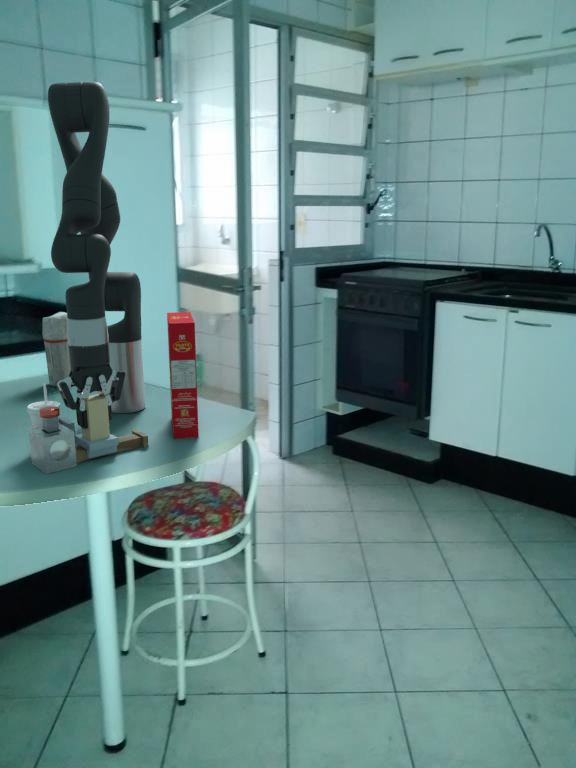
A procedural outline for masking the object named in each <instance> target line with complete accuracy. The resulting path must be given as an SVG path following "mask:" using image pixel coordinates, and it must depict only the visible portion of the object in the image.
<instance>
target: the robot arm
mask: <svg viewBox="0 0 576 768" xmlns="http://www.w3.org/2000/svg"><path fill="white" fill-rule="evenodd" d="M47 104H48V108H49V113H50V118H51V121H52V125H53V128H54V132H55V135H56V138H57V143H58V144H59V148H60V151H61V154H62V158H63V162H64V164H65V168H66V169H65V171H66V174H65V176H64V178H63V182H62V194H61V195H62V196H61V197H62V198H61V200H62V201H61V204H62V205H61V215H60V220H59V224H58V227H57V230H56V231H55V235H54V238H53V241H52V244H51V250H50V258H51V262H52V264H53V266H54V268H55V269H56V270H57V271H58V272H60V273H64V274H85V273H87V275H88V279H89V281H88V282H85V283H83V284H82V283H81V284H77V285H73V286H70V287H68V288H67V289H66V291H65V294H64V295H65V296H64V297H65V305H66V313H67V336H68V348H69V359H70V367H71V371H70V373H69V377H67V378H65V379H63V380H57V381H56V387H57V390H58V392H59V394H60V397H61V399H62V400H63V403H64V405H65V407H66V408H68V409H70V410H71V411H75V414H76V423H77V425H78V426H80V427H81V429H82V428H83V429H86V428H88V420H87V411H86V410H85V408H86V401H87V400H88V398H89V396H90V394H91V393H93V392H96V393H97V394H99V395H101V396H103V397H104V398H105V397H106V398H107V401H108V416H109V424H111V420H112V419H113V414H114V413H116V414H129V413H130V414H131V413H137V412H140V411H143V410H144V409H146V396H145V375H144V360H143V359H144V358H143V343H142V339H143V338H142V337H143V336H142V288H141V287H142V286H141V282H140V281H141V280H140V277H139V276H138V274H137V273H135V272H132V271H108V269H109V265H110V262H111V254H112V251H111V250H112V249H111V244H112V242H113V240H114V239H115V237H116V235H117V232H118V230H119V229H120V228H119V227H120V224H121V213H120V208H119V202H118V196H117V192H116V190H115V187H114V186H113V184H112V182H110V180H109V179H108V178H107V177H106V176H105V175H104V174H103V168H104V162H105V156H106V149H107V142H108V135H109V128H110V104H109V99H108V95H107V92H106V90H105V87H104V85H102V84H101V83H100V82H98V81H70V82H68V81H67V82H56V83H52V84H51V85H49V87H48V90H47ZM77 133H88V137H87V138H86V139H87V140H85V143H84V145H83V147H82V146H81V143H80V141H79V139H78V136H77ZM79 233H80V234H79ZM106 312H124V314H123V315H124V316H123V318H122V319H121V320H120V321H118V322H116V323H115V322H114V323H113V324H110V325H108V322H107V316H106ZM71 383H73V384H74V386H75V387H76V388H75V394H74V396H75V400H74V397H73V394H72V392H71V389H72V385H71Z"/></svg>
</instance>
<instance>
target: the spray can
mask: <svg viewBox="0 0 576 768" xmlns="http://www.w3.org/2000/svg"><path fill="white" fill-rule="evenodd" d="M41 334H42V338H43V344H44V352H45V360H46V368H47V376H48V381H49V386H52V387H55V388H56V387H57V386H56V381H57V380H63V379H65V378H67V377H69V373H70V371H71V367H70V359H69V348H68V336H67V312H65V311H58V312H56V313H54V314H52V315H50V316H46V317H42V333H41ZM73 385H74V384H73V383H71V386H73ZM74 386H75V385H74Z"/></svg>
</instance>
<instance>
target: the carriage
mask: <svg viewBox="0 0 576 768" xmlns="http://www.w3.org/2000/svg"><path fill="white" fill-rule="evenodd" d="M85 410H86V411H87V420H88V428H86V429H83V428H81V433H79V434H76V428H75V427H76V426H75V422H74V421H72V420H70V419H68V418H66V417H65V416H63V415H61V414H60V415H59V423H60V424H62V425H64V426H65V427H67V428H69V429H70V430H72V431H74V437H75V447H79V446H82V447H83V448H85V449H87V457H88V458H92V457H96V456H100V455H104V454H109V453H113V452H117V445H119V444H118V437H119V436H118V437H117V436H116V435H114V434H112V433H110V423H109V416H108V401H107V398H106V397H105V398H104V397H103V396H101V395H99V394H98V393H97V394H93V395H89V398H88V400H87V401H86V408H85ZM117 453H118V452H117ZM113 454H114V453H113ZM109 455H110V454H109Z"/></svg>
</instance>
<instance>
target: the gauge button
mask: <svg viewBox="0 0 576 768" xmlns="http://www.w3.org/2000/svg"><path fill="white" fill-rule="evenodd" d="M60 410H61V409H60ZM60 410H59V407H44V408H41V409H40V410H39V413H40V417H41V418H42V421H43V432H45V433H46V434H49V433H54V432H58V431H59V423H58V416H59V415H61V412H60Z"/></svg>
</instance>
